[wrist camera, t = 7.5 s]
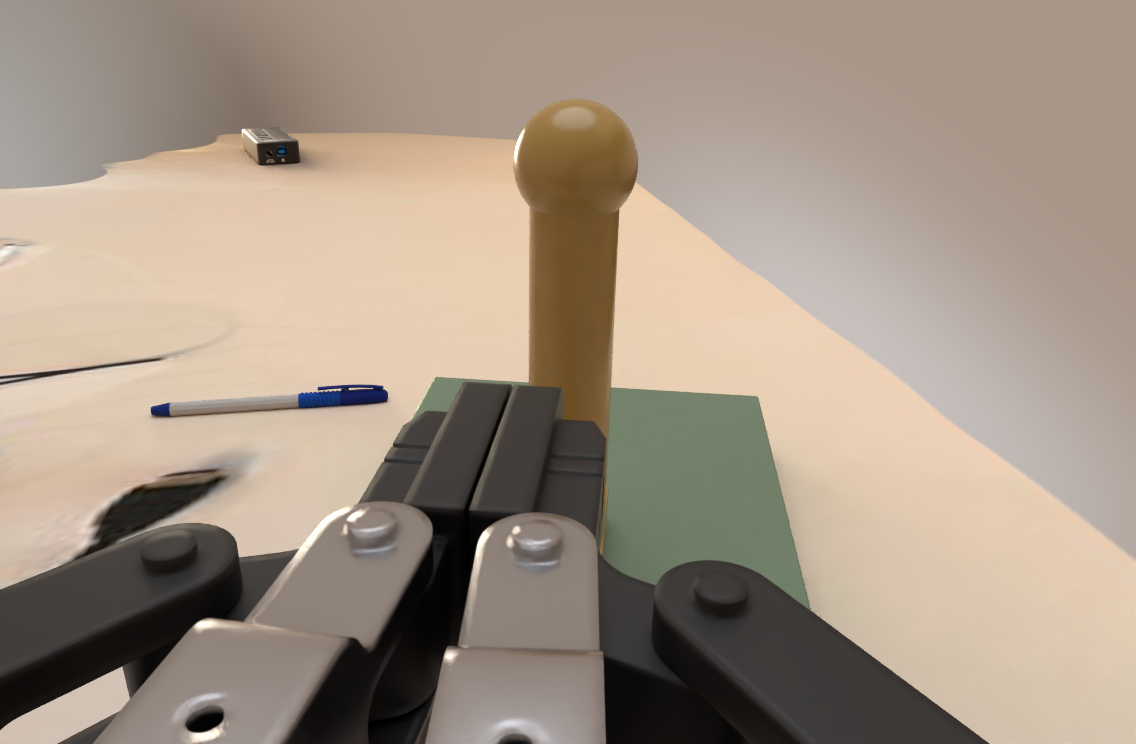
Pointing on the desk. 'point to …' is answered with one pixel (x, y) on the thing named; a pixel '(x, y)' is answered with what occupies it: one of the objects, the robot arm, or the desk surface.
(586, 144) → the yellow lever
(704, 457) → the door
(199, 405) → the ballpoint pen
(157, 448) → the desk surface
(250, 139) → the multiport hub
